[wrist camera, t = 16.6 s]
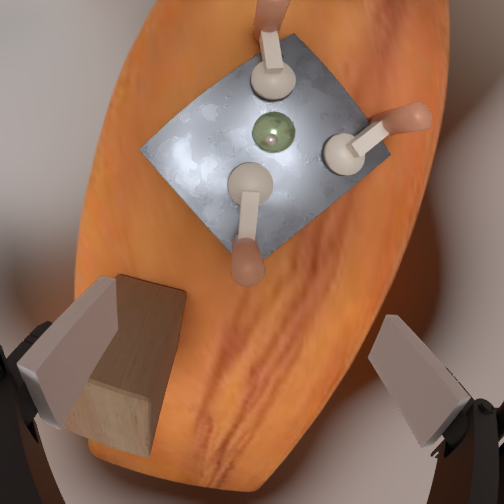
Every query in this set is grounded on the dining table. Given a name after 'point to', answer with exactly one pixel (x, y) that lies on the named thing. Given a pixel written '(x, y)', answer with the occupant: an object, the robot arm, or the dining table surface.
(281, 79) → the knob
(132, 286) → the wooden block
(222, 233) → the base plate
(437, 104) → the dining table surface
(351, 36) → the dining table surface
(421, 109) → the knob
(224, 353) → the dining table surface
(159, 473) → the dining table surface
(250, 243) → the knob
